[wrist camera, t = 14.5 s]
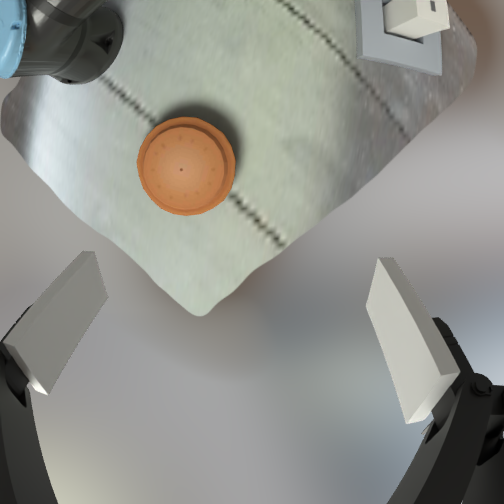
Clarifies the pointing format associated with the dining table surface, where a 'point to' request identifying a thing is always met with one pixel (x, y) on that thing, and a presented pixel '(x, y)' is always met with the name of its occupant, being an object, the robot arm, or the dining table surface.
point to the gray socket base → (394, 42)
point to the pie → (186, 166)
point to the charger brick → (415, 17)
